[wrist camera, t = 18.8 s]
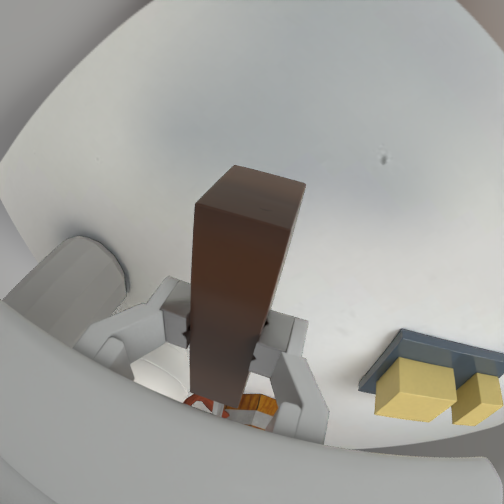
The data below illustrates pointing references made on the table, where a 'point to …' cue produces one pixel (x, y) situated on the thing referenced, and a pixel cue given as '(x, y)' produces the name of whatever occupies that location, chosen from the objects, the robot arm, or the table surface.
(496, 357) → the butter dish
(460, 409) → the block
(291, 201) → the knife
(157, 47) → the table surface
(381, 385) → the butter block
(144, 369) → the spinning top
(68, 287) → the jar
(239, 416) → the mug
